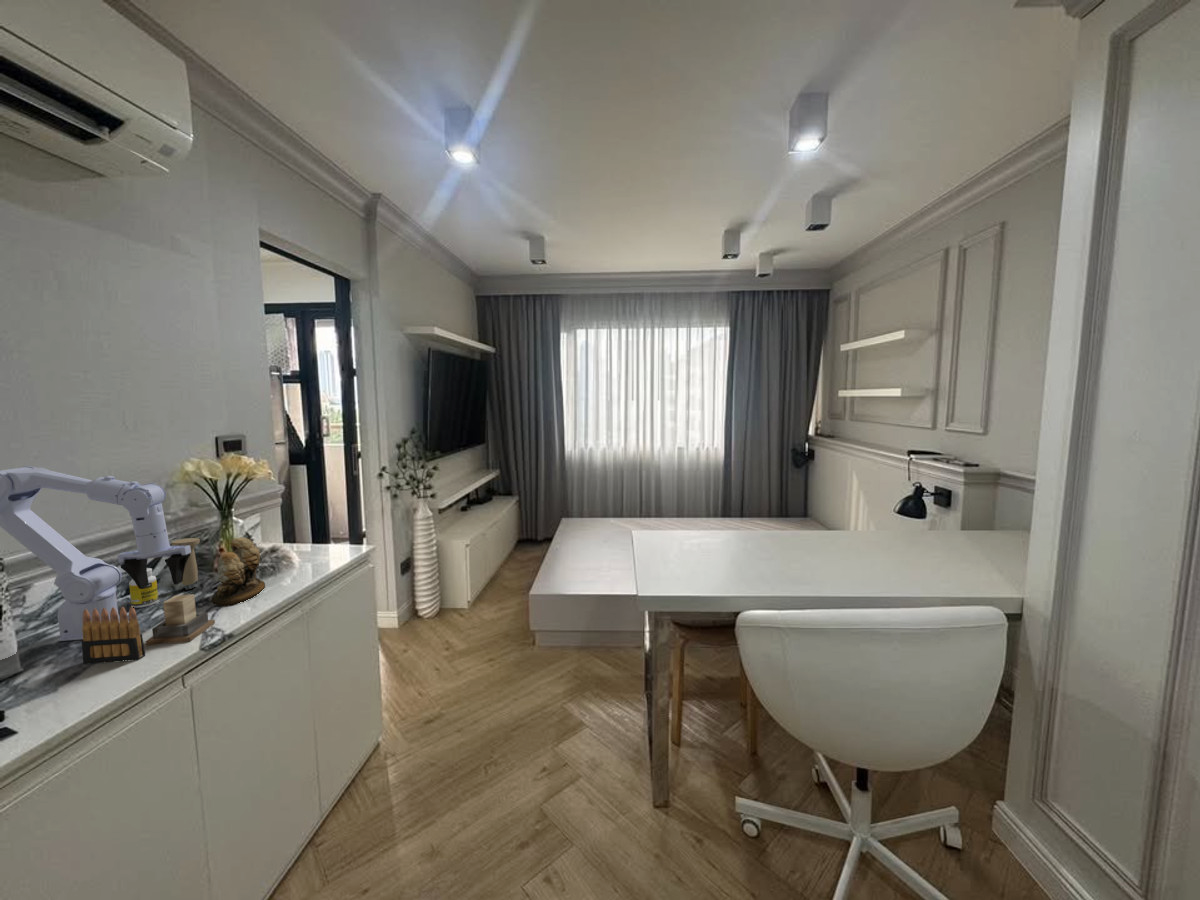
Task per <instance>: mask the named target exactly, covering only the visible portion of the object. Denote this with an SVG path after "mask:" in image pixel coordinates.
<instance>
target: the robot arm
mask: <svg viewBox="0 0 1200 900" xmlns="http://www.w3.org/2000/svg"><path fill="white" fill-rule="evenodd" d="M42 489H49V490H56V491H57V490H58V491H63V492H64V491H65V492H69V493H70V492H71V493H72V492H73V493H80V494H83V495H84V494H85V495H86V496H87V498H88V499H89V500H90V501H95V502H102V503H106V504H110V505H111V504H112V505H116V506H117V505H118V506H122V507H123V508H124V509H125V510H127V512H129V517H130V518H131V522H132V528H133V533H134V538H135V543H136V549H137V550H132V551H125V552H122V553H119V554H117V561H118V563H122V564H120V568H119V567H117V566H115V565H114V564H108V563H107V562H105V561H104V560H102V559H101V558H97V557H92V556H91V557H90V556H86V555H85V554H84V553H83V552H82V551H80V549H78V548H76V547H75V546H74V545H73V544H72V543H71V542H69V541H68V540H67V539H66V538H65V537H63V536H62V534H60V533H59V532H58V531H57V530H55V529H54V528H53V527H51V526H50V524H48V523H47V522H45V521H44V520H43V519H42V518H41V517H40V516H39V515H37V513H35V512H34V511H33V510H31V507H32V503H33V502H34V500H35V499H36V498H37V497H38V495H39V493H40V492H41V490H42ZM166 498H167V494H166V490H165V489H164V488H163V487H162V486H161V485H159V484H156V483H154V482H147V483H144V484H140V483H139V481H135V480H134V481H124V480H120V479H116V477H115V476H113V475H107V476H100V477H98V478H95V479H93V480H92V479H88V478H85V477H79V476H76V475H72V474H68V473H67V474H66V473H63V472H60V471H59V472H58V471H54V470H51V469H50V470H49V469H47V468H45V467H34V466H29V465H25V466H19V467H15V468H9V469H1V470H0V528H1V529H3V530H4V531H5V532H6V533H8V534H9V536H12V537H13V538H14V539H15V540H16V541H17V542H18V543H20V544H21V545H22V546H23V547H25V548H26V549H27V550H28V551H30V552H31V553H32V554H33V555H35V556H36V557H38V559H39V560H41V561H42V562H44V564H46V565H47V566H48V567H49V568H50V569H52V570H53V571H54V572H55V573H56V576H55V579H54V582H53V584H54V585H55V586H56V587H57V588H58V589H59V590H60V593H61V595H62V597H63V598H64V599H65V601H64V602H63V603H61V604H60V606H59V607H58V610H57V622H58V628H59V629H58V630H59V638H57V639H56V641H57V642H66V641H67V642H68V641H77V640H83V632H82V628H83V612H84V610H85V609H87V610H88V612H89V614H90V617H91V621H92V612H93V609H94V608H95V609H97V611H98V613H99V616H100V620H101V612H102V609H103V608H105V609H106V610H107V612H108V615H109V620H110V613H111V609H112V608H113V607H114V608H115V609H116V611H117V614H118V619H119V623H120V618H119V615H120V614H119V607H118V599H117V590H118V588H117V586H118V585H119V584H120V583H121V581H122V578H123V574H122V571H121V570H120V569H122V570H123V571H125V572H126V574H128V575H129V577H131V580H132V579H133V580H134V581H135V583H136V585H137V586H138V588H139V589H142V588H144V587H146V586H148V576H147V568H148V559H153V558H165V557H167V558H166V559H164V562H165V564H166V565H167V567H168V570H169V572H170V575H171V581H172V583H173V585H179V584H182V581H183V574H184V569H185V565H186V563H187V560H188V558H189V556H190V553H191V548H190V545H187V546H172V545H171V544H170V539H169V534H168V530H167V524H166V518H165V514H164V512H165V511H164V508H163V502H164V501H165V500H166ZM128 622H129V620H128Z"/></svg>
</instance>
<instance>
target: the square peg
mask: <svg viewBox="0 0 1200 900" xmlns="http://www.w3.org/2000/svg"><path fill="white" fill-rule="evenodd" d="M162 604H163V613H164V621H165V623H166V626H169V625H181V624H187V623H188V622H189V621H191V620H192V619H194V618H195V617H196V613H197V610H196V600H195V594H194V593H193V594H180V595H179V594H177V595H173V596H172V597H170V598H169V599H166V600H165V601H163V603H162Z"/></svg>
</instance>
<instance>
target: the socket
mask: <svg viewBox="0 0 1200 900" xmlns="http://www.w3.org/2000/svg"><path fill="white" fill-rule="evenodd" d="M214 623H215V619H209V615H208V612H207V611H205V612H196V617H195V618H194V619H192V620H191V621H189V622H188V623H187V624H181V625H169V626H166V623H165V620H163V621H162V622H160V623H159V624H157V625H155V626H154V627H152V628H151V630H152V637H150V638H148V639H147V640H146V641H145V646H153V645H165V644H174V643H175V644H176V643H184V642H185V643H186V642H187V643H188V642H191V641H194V640H195V639H196V638H197V637H198V636H200V635H201V634H203V633H204V632H205V631H206V629H207V630H208V629H209V628H210V626H211V627H212V626H213V625H215V624H216V623H215V624H214Z"/></svg>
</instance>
